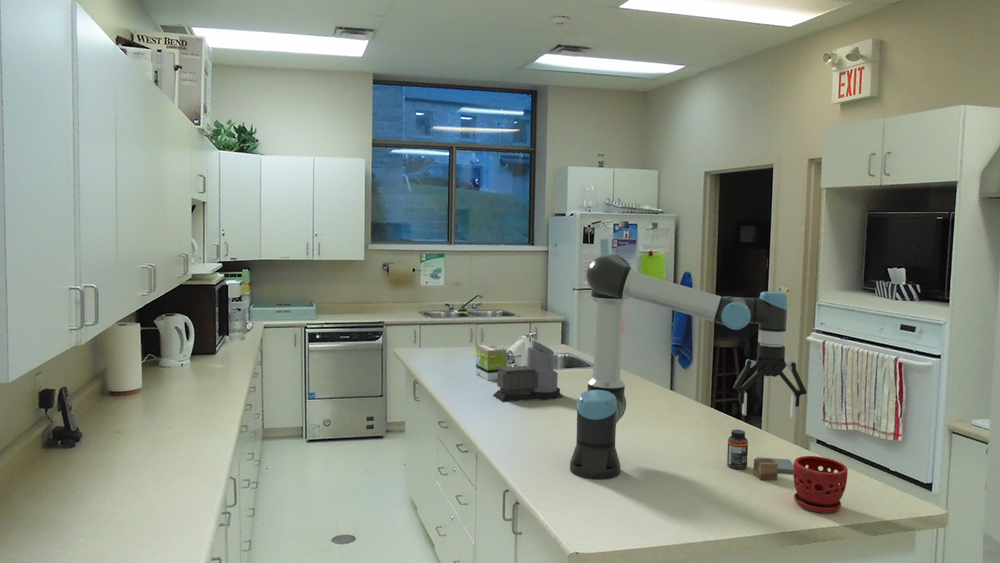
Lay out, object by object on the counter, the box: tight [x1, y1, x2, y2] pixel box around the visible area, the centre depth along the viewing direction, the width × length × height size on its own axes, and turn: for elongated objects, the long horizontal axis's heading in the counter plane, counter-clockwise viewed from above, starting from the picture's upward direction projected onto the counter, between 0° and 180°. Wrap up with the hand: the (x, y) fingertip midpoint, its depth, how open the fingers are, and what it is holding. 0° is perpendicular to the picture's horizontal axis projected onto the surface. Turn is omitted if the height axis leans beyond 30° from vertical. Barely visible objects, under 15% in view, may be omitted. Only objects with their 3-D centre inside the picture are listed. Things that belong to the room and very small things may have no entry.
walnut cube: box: [753, 458, 778, 481], centre depth 216 cm, size 5×5×5 cm
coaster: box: [756, 456, 794, 475], centre depth 225 cm, size 10×10×1 cm
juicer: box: [492, 339, 564, 403], centre depth 311 cm, size 30×16×24 cm, turn 111°
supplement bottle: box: [726, 429, 749, 470], centre depth 224 cm, size 6×6×11 cm
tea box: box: [475, 343, 507, 381], centre depth 350 cm, size 15×10×15 cm, turn 25°
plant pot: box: [792, 455, 849, 514], centre depth 193 cm, size 13×13×12 cm
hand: (768, 415), depth 214 cm, fingers open, 13 cm apart
